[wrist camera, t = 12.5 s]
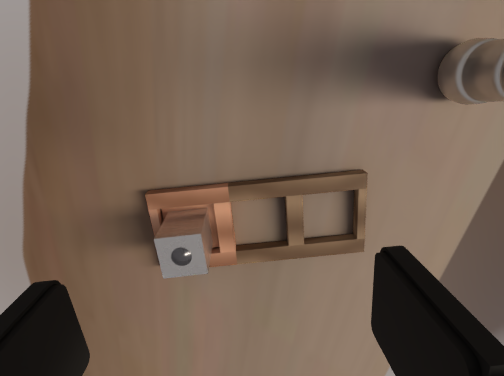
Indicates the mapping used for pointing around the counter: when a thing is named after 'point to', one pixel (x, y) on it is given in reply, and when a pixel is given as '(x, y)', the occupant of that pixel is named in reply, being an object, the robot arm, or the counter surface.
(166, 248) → the steel plug
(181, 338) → the counter surface
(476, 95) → the plastic bottle
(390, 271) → the robot arm
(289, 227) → the rail
